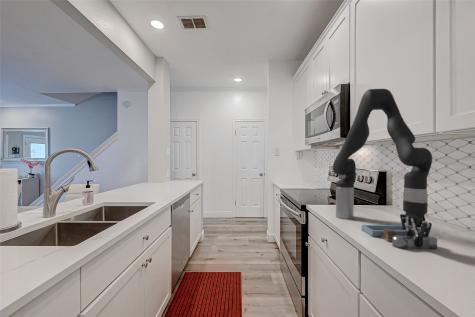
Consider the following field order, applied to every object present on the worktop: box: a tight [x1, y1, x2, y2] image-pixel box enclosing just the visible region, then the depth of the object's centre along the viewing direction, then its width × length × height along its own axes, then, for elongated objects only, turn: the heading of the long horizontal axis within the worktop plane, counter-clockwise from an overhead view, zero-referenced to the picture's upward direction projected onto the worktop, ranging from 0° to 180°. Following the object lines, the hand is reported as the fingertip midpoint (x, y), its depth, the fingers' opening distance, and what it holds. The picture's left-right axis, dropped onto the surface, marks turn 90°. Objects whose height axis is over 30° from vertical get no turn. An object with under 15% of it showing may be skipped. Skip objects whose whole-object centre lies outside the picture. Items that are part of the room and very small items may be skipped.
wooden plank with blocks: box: [380, 229, 420, 243], centre depth 100 cm, size 5×14×4 cm, turn 90°
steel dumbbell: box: [391, 235, 438, 250], centre depth 93 cm, size 5×16×4 cm, turn 90°
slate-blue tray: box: [361, 224, 411, 238], centre depth 108 cm, size 9×20×2 cm, turn 90°
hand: (414, 244), depth 93 cm, fingers closed on steel dumbbell, 4 cm apart
